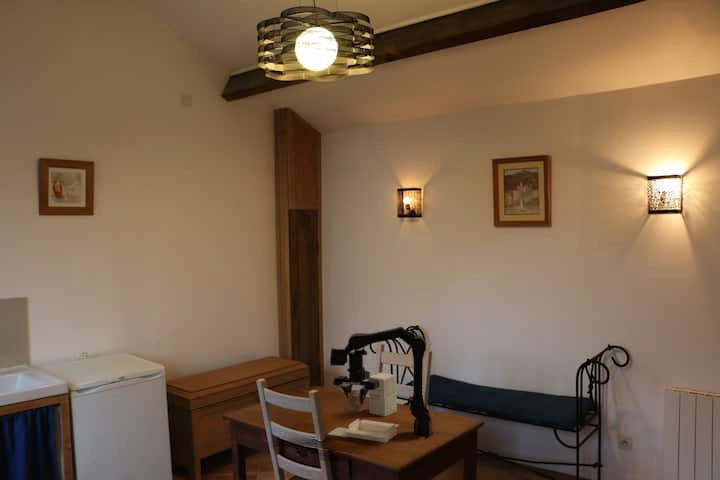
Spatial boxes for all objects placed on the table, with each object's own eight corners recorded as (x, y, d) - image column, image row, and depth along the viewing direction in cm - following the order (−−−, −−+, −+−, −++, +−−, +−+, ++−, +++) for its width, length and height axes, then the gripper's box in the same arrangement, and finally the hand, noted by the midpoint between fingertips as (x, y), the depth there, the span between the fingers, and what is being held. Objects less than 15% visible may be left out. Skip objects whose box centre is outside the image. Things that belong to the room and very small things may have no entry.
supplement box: (381, 408, 281) (380, 372, 281) (397, 411, 276) (396, 374, 275) (368, 413, 274) (367, 376, 274) (385, 416, 268) (383, 379, 268)
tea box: (365, 408, 246) (364, 391, 246) (359, 411, 242) (358, 394, 242) (354, 406, 249) (353, 389, 248) (348, 410, 244) (347, 393, 244)
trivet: (357, 431, 250) (357, 430, 250) (346, 438, 242) (346, 437, 242) (338, 428, 254) (338, 427, 254) (327, 435, 246) (327, 433, 246)
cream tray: (399, 433, 246) (399, 421, 246) (382, 446, 232) (381, 433, 232) (362, 427, 255) (362, 415, 254) (343, 440, 240) (343, 427, 240)
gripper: (385, 363, 248) (385, 401, 248) (345, 359, 256) (346, 395, 257) (373, 369, 238) (373, 408, 238) (332, 364, 247) (332, 402, 247)
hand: (356, 403), depth 245 cm, fingers closed on tea box, 5 cm apart
